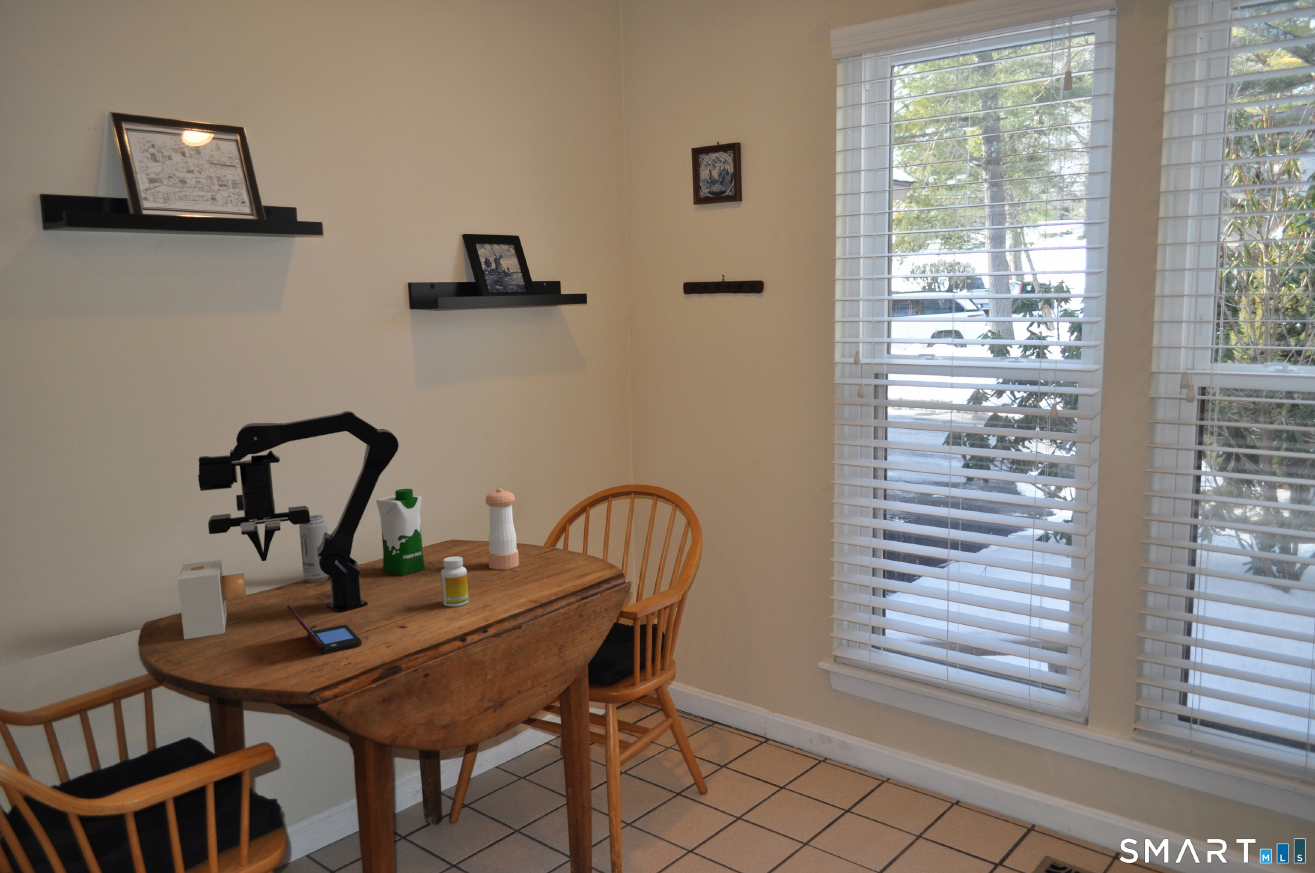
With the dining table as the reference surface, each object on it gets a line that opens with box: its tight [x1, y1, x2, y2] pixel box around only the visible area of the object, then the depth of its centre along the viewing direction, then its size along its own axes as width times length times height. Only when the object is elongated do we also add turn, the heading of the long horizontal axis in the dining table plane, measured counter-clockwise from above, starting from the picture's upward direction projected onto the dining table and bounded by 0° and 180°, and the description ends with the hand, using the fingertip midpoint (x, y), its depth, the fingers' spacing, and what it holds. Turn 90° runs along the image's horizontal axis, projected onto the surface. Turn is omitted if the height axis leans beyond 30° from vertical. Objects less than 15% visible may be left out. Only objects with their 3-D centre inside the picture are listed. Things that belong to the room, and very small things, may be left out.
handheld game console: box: [286, 604, 363, 656], centre depth 167 cm, size 12×11×7 cm
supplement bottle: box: [440, 556, 470, 608], centre depth 188 cm, size 5×5×10 cm
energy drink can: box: [298, 514, 330, 583], centre depth 209 cm, size 6×6×15 cm
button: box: [222, 572, 247, 602], centre depth 180 cm, size 4×5×5 cm
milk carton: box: [375, 488, 426, 577], centre depth 214 cm, size 9×9×20 cm
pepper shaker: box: [485, 487, 520, 570], centre depth 215 cm, size 7×7×19 cm
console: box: [177, 559, 228, 640], centre depth 178 cm, size 7×12×12 cm, turn 24°
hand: (264, 560), depth 182 cm, fingers closed
